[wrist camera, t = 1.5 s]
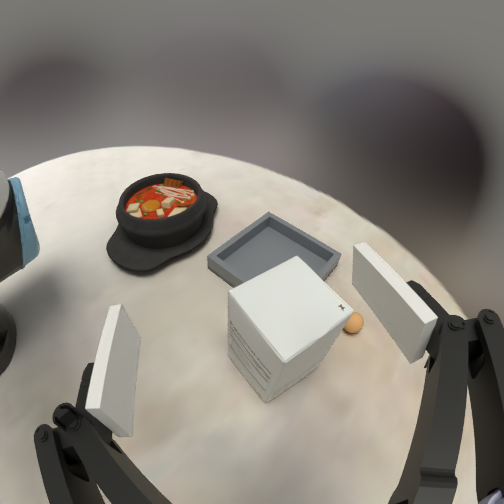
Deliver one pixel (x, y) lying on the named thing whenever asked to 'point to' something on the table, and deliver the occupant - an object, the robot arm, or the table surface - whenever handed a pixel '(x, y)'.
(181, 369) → the table surface
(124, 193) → the casserole
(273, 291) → the supplement box
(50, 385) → the table surface
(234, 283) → the tray
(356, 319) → the ball
